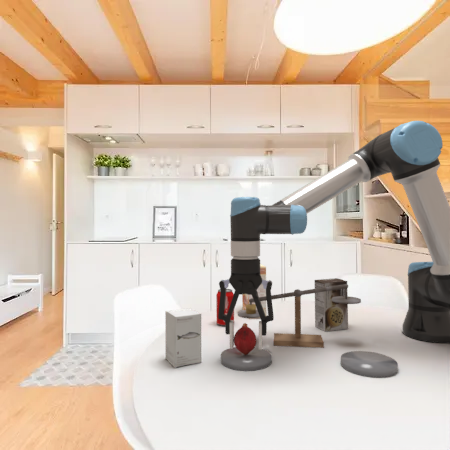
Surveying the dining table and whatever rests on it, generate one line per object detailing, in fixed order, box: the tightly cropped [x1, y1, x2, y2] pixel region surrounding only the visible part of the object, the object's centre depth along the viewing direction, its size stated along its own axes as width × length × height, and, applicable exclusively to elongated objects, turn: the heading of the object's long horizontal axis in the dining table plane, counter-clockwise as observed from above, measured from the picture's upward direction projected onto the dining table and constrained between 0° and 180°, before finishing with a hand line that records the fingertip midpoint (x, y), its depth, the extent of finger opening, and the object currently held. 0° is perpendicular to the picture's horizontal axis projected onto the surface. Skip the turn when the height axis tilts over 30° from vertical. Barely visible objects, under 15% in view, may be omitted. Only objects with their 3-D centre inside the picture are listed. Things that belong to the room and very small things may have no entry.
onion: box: [234, 322, 258, 355], centre depth 93 cm, size 6×6×8 cm
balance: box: [237, 283, 362, 349], centre depth 107 cm, size 36×8×18 cm, turn 82°
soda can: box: [215, 288, 235, 327], centre depth 127 cm, size 6×6×12 cm
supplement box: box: [165, 307, 202, 369], centre depth 93 cm, size 7×7×13 cm
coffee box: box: [314, 278, 349, 332], centre depth 122 cm, size 9×6×16 cm
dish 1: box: [220, 346, 273, 372], centre depth 93 cm, size 13×13×2 cm
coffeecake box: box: [241, 263, 267, 320], centre depth 141 cm, size 15×7×20 cm, turn 6°
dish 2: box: [340, 350, 399, 379], centre depth 88 cm, size 13×13×2 cm
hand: (246, 347), depth 93 cm, fingers open, 7 cm apart
